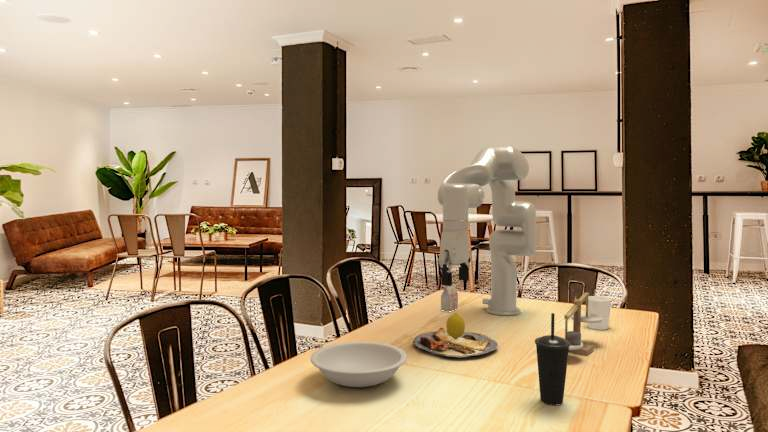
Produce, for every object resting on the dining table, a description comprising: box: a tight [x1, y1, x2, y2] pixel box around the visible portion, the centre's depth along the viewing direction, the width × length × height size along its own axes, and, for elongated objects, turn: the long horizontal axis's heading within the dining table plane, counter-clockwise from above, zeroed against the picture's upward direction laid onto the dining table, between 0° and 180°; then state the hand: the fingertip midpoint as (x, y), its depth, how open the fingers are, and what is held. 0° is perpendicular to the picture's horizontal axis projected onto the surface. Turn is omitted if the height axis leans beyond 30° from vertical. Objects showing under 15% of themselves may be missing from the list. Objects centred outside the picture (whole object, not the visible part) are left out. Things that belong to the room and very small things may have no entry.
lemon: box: [445, 313, 466, 340], centre depth 159 cm, size 6×6×8 cm
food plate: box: [412, 327, 499, 359], centre depth 159 cm, size 25×23×4 cm
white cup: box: [586, 295, 612, 331], centre depth 180 cm, size 8×8×10 cm
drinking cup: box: [534, 312, 571, 406], centre depth 119 cm, size 8×8×20 cm
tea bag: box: [440, 283, 459, 312], centre depth 206 cm, size 4×7×10 cm, turn 143°
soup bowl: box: [310, 340, 408, 388], centre depth 131 cm, size 24×24×7 cm
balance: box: [563, 291, 603, 356], centre depth 155 cm, size 9×27×16 cm, turn 141°
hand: (455, 282), depth 159 cm, fingers open, 9 cm apart
